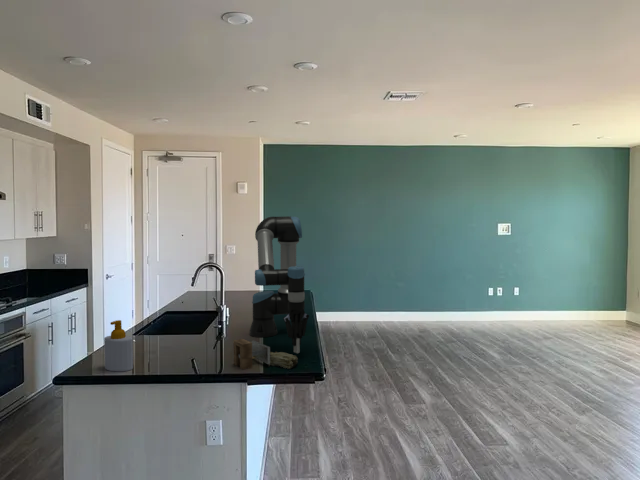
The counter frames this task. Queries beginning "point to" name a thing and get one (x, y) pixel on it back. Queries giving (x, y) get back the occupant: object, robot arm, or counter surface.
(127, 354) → the soap bottle
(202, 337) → the counter surface
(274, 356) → the mushroom
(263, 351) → the plate
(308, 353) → the counter surface
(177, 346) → the counter surface
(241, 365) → the base
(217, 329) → the counter surface
